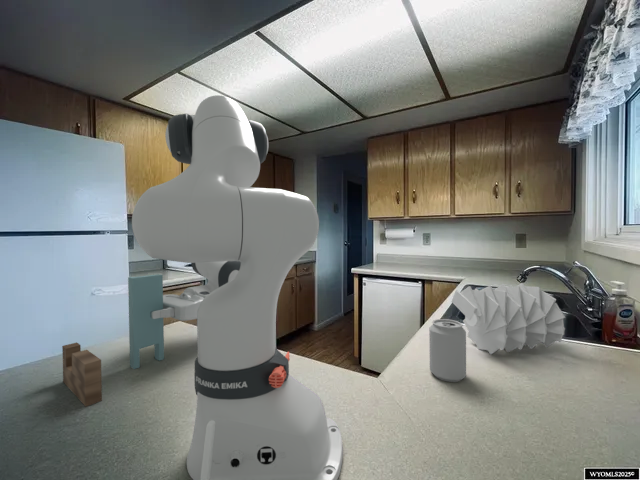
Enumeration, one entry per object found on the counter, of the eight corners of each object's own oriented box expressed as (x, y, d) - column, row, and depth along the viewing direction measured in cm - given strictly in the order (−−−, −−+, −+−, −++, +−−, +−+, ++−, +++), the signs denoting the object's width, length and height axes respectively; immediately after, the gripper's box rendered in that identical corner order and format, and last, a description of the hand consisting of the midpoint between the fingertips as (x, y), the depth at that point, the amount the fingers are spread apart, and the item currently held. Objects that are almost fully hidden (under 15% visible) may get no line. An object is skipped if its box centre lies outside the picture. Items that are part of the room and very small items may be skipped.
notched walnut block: (101, 400, 56) (101, 359, 56) (85, 406, 54) (84, 364, 54) (77, 377, 65) (76, 342, 65) (63, 381, 63) (62, 345, 63)
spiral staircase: (556, 362, 78) (482, 370, 72) (506, 319, 94) (441, 322, 87) (592, 310, 71) (513, 313, 64) (531, 272, 86) (462, 271, 80)
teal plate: (164, 359, 74) (162, 274, 74) (134, 369, 69) (132, 278, 69) (159, 356, 76) (158, 274, 76) (129, 366, 70) (128, 277, 70)
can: (470, 374, 64) (470, 321, 64) (459, 387, 59) (459, 329, 59) (437, 364, 69) (436, 315, 69) (424, 376, 64) (423, 322, 64)
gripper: (176, 287, 89) (126, 295, 78) (215, 294, 77) (161, 305, 66) (177, 307, 89) (126, 318, 78) (215, 318, 77) (162, 332, 66)
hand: (142, 312), depth 72 cm, fingers open, 8 cm apart
